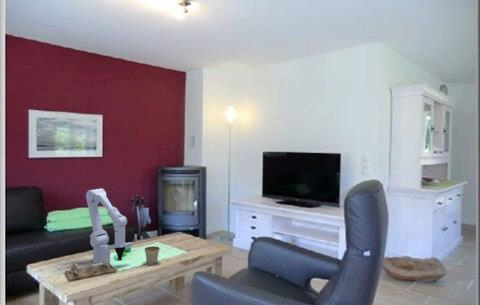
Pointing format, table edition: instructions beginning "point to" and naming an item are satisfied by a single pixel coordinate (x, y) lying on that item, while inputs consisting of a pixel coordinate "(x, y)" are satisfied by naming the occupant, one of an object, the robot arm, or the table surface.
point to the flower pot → (152, 254)
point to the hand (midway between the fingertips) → (119, 259)
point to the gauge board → (87, 272)
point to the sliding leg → (106, 262)
